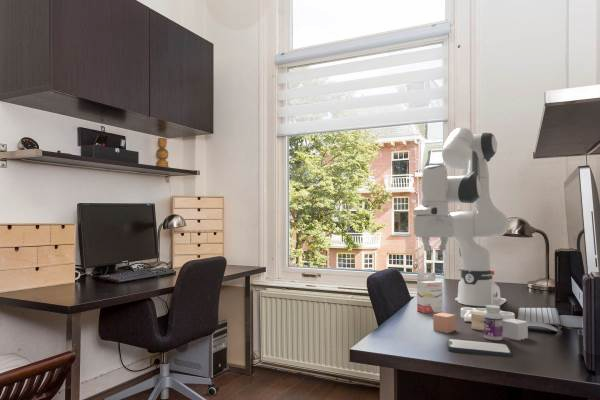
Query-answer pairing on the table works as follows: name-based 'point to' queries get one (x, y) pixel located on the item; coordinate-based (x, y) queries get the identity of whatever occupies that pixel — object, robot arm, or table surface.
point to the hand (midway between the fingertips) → (435, 250)
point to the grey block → (515, 329)
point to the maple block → (477, 320)
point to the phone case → (478, 347)
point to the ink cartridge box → (429, 293)
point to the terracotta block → (444, 322)
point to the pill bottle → (493, 323)
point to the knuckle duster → (468, 311)
